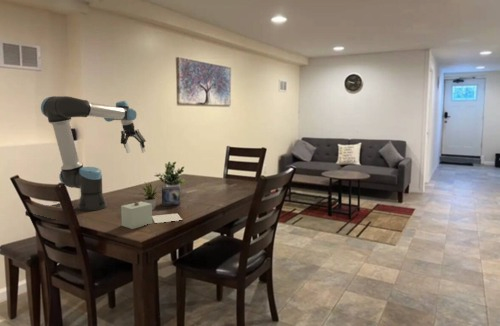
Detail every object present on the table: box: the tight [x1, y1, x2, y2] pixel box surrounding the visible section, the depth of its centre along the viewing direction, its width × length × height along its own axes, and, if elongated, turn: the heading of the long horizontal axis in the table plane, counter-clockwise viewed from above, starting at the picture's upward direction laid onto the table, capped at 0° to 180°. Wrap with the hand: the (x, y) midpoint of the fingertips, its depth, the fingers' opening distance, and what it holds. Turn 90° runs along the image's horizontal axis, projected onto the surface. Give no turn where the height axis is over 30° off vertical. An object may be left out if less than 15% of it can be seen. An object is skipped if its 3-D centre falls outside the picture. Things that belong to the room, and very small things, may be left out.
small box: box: [161, 186, 181, 207], centre depth 220 cm, size 11×6×10 cm, turn 105°
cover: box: [120, 201, 153, 230], centre depth 181 cm, size 12×8×11 cm
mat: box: [152, 213, 183, 224], centre depth 192 cm, size 14×13×1 cm
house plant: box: [138, 181, 159, 211], centre depth 210 cm, size 14×14×16 cm
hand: (136, 152), depth 256 cm, fingers open, 13 cm apart
